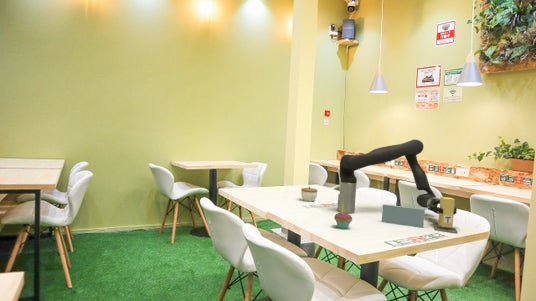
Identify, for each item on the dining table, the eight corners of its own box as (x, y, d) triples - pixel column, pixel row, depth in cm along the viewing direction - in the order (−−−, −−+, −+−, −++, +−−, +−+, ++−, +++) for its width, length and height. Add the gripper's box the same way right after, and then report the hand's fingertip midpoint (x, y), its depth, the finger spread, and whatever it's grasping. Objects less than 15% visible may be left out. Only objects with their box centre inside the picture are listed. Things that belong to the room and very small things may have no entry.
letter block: (438, 224, 178) (440, 196, 177) (448, 225, 177) (450, 197, 176) (442, 227, 172) (444, 198, 172) (452, 227, 172) (455, 199, 171)
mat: (434, 230, 172) (434, 229, 172) (433, 225, 181) (433, 224, 181) (457, 233, 168) (457, 232, 168) (455, 228, 177) (455, 227, 177)
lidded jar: (298, 201, 229) (299, 186, 229) (302, 198, 239) (303, 185, 239) (314, 203, 225) (315, 188, 225) (318, 200, 235) (319, 186, 235)
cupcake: (348, 230, 162) (349, 205, 162) (330, 227, 167) (332, 202, 166) (353, 227, 169) (355, 202, 169) (337, 224, 174) (338, 200, 173)
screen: (381, 221, 184) (382, 204, 183) (382, 221, 186) (383, 204, 185) (423, 227, 176) (424, 210, 175) (423, 226, 178) (424, 209, 177)
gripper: (423, 197, 189) (433, 203, 172) (451, 199, 188) (464, 205, 171) (421, 211, 190) (432, 218, 173) (449, 213, 188) (463, 220, 171)
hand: (448, 212), depth 172 cm, fingers closed on letter block, 5 cm apart
